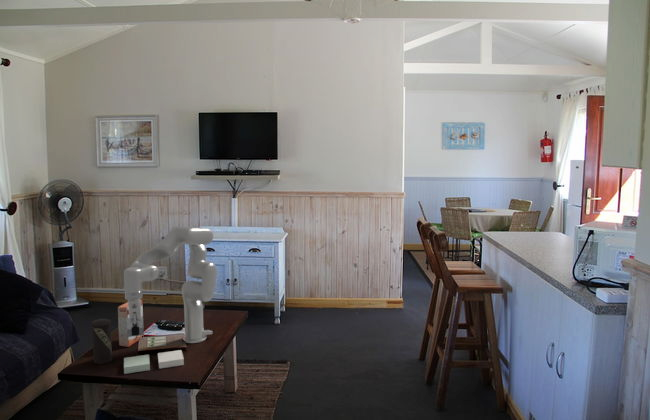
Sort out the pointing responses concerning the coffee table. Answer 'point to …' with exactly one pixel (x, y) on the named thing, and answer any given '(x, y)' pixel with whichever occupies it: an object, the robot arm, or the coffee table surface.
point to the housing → (129, 325)
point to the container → (101, 341)
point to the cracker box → (122, 322)
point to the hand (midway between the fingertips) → (135, 332)
